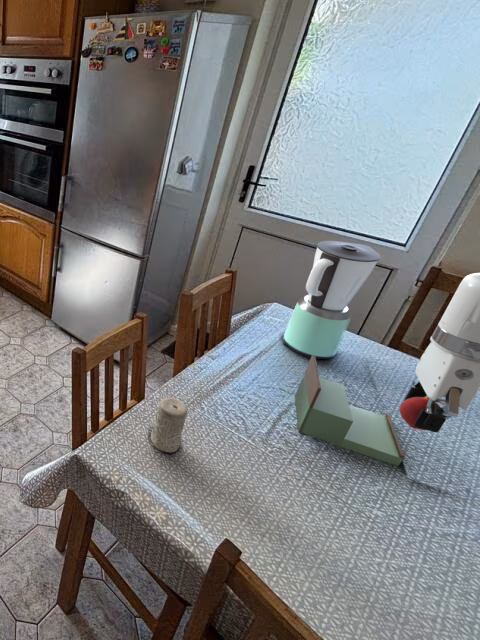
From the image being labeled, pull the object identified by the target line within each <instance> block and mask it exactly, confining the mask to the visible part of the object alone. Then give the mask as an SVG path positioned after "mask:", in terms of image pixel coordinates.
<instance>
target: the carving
mask: <svg viewBox="0 0 480 640" xmlns="http://www.w3.org/2000/svg"><path fill="white" fill-rule="evenodd" d="M187 415H188V407H187V405H186V404H185V403H184V402H182V401H181V400H179V399H178V398H175V397H168V396H167V397H163V398H162V399H161V400H160V401H159V402H158V404H157V410H156V411H155V416H154V420H153V425H152V429H151V433H150V439H151V442H152V444H153V446H154V447H155V448H157V449H158V450H160V451H162V452H166V453H174V452H176V451H178V449H179V447H180V444H181V441H182V437H183V435H182V434H183V430H184V426H185V422H186V418H187Z"/></svg>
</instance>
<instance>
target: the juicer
mask: <svg viewBox="0 0 480 640" xmlns="http://www.w3.org/2000/svg"><path fill="white" fill-rule="evenodd" d="M380 260H381V255H380V254H379V252H377V251H376V250H375V249H373V248H372V247H371V246H369V245H366V244H359V243H353V242H347V241H337V240H322V241H319V242H317V244H316V250H315V254H314V259H313V264H312V268H311V270H310V273H309V275H308V278H307V281H306V284H305V291H306V292H307V293H308V294H307V295H304V296H303V297H301V298H299V299H298V301H297V302H296V304H295V306H294V308H293V311H292V313H291V315H290V318H289V321H288V324H287V326H286V328H285V332H284V334H283V342H282V344H283V343H284V344H285V345H288V346H287V347H289V348H290V349H291V350H293V351H294V352H296V353H298V354H300V355H303V356H306V358H307V359H308V360H309V361H310V359H311V357H312V355H315V357H316V359H317V360H326V359H331V358H333V357H334V356H336V354H337V352H338V349H339V347H340V345H341V342H342V340H343V338H344V336H345V334H346V331H347V329H348V327H349V324H350V322H351V319H352V313H351V310H350V308H349V307H348V305H350V302H351V301H352V300H353V298H354V297H355V296H356V295H357V293H358V292H359V290H360V289H361V287H362V286H363V285H364V283H365V282H366V280H367V279H368V278H369V276H370V275H371V274H372V272H373V271H374V269H375V267H376V265H377V264H378V261H380ZM285 345H284V346H285Z"/></svg>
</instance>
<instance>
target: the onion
mask: <svg viewBox="0 0 480 640" xmlns="http://www.w3.org/2000/svg"><path fill="white" fill-rule="evenodd" d="M428 400H429V397H428V396H425V397H412V398H409V399H406V400H405V401H404V400H403V401H402V402H401V403H400V406H399V409H398V410H399V413H400V417H401V418H402V419H403V421H404V422H405V423H406V424H407V425H408V426H409V427H410V428H412V429H415V430H420V431H426V430H425V429H422V428H418V427H416V426H415V425H414V422H415V420H416V419H417V417H418V415H419V413H420V412H421V410H422V409H425V410H426V406H427V403H428ZM435 407H440V408H442V407H441V406H440V405H439V403H438V402H436V403H435V406H434V408H435Z"/></svg>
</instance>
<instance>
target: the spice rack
mask: <svg viewBox="0 0 480 640" xmlns="http://www.w3.org/2000/svg"><path fill="white" fill-rule="evenodd" d="M294 402H295V412H296V424H297V432H298V433H300V434H304V435H307V436H310V437H312V438H315V439H318V440H321V441H324V442H326V443H330V444H332V445H335V446H338V447H340V448H343V449H347V450H350V451H352V452H356V453H358V454H361V455H364V456H367V457H370V458H372V459H376V460H378V461H382V462H383V463H387V464H390V465H392V466H396V467H399V466H400V465H401V463H402V461H403V460H404V458H405V454H404V450H403V448H402V445H401V442H400V440H399V436H398V434H397V431H396V429H395V426H394V423H393V420H392V418H391V415H390V413H385V415H383V414H380V413H377V412H373V411H371V410H367V409H364V408H360V407H357V406H354V405H352V404H350V403H349V398H348V395H347V391H346V387H345V384H344V383H341V382H337V381H334V380H330V379H327V378H323V377H320V374H319V369H318V364H317V358H316V357H315V355H312V357H311V359H310V360H309V362H308V364H307V367H306V368H305V371H304V373H303V376H302V378H301V380H300V382H299V385H298V387H297V389H296V392H295V394H294Z"/></svg>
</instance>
